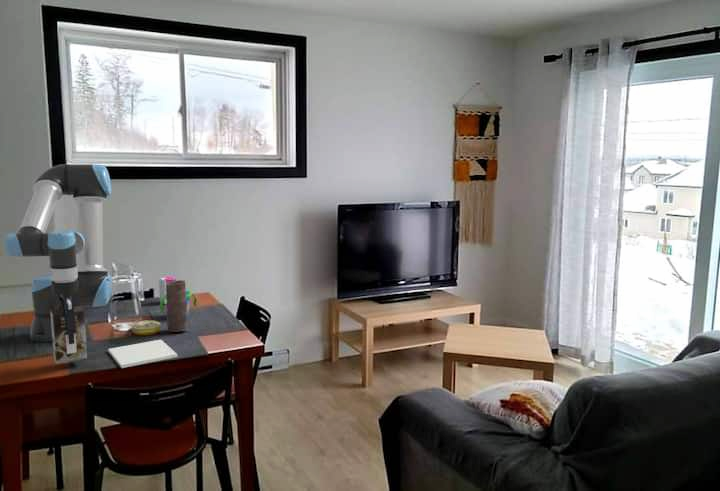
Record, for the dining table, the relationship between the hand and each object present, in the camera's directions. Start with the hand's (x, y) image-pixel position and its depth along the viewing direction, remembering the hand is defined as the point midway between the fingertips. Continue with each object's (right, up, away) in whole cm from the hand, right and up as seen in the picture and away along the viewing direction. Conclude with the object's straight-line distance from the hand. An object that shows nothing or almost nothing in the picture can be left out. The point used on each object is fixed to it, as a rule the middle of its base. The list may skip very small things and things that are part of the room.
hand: (69, 349), depth 181 cm
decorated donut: (+11, 0, +36) cm, 37 cm away
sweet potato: (+23, 0, +37) cm, 43 cm away
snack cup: (+17, +3, +56) cm, 59 cm away
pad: (+19, -4, +12) cm, 23 cm away
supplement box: (+6, +7, +77) cm, 77 cm away
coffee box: (0, -3, +1) cm, 3 cm away
